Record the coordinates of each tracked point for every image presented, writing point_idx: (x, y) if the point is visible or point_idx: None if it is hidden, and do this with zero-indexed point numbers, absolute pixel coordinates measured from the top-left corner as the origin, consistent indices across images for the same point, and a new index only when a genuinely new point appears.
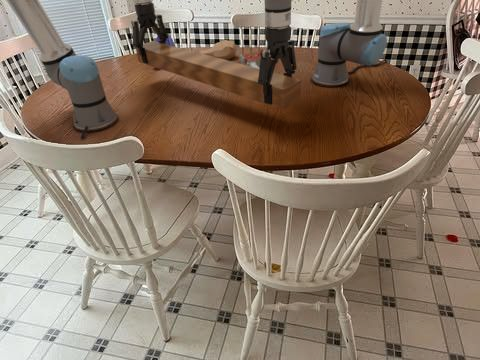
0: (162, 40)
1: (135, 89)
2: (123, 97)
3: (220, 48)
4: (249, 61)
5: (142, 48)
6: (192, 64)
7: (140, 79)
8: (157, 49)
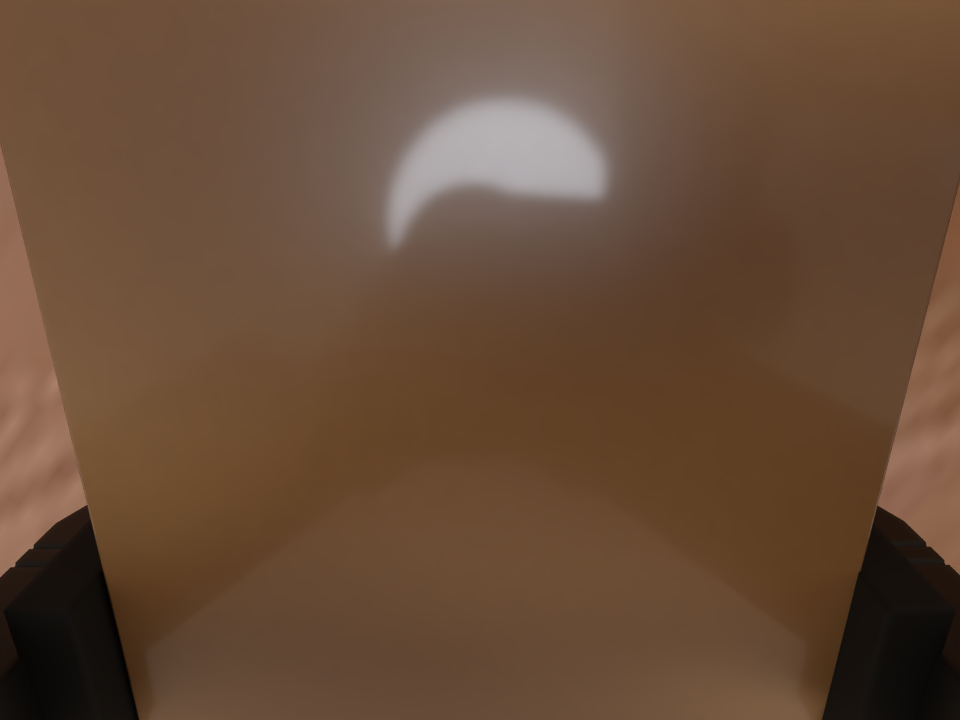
0: (10, 695)
1: None
2: (937, 349)
3: None
4: None
5: (925, 633)
6: None
7: None
8: (678, 163)
